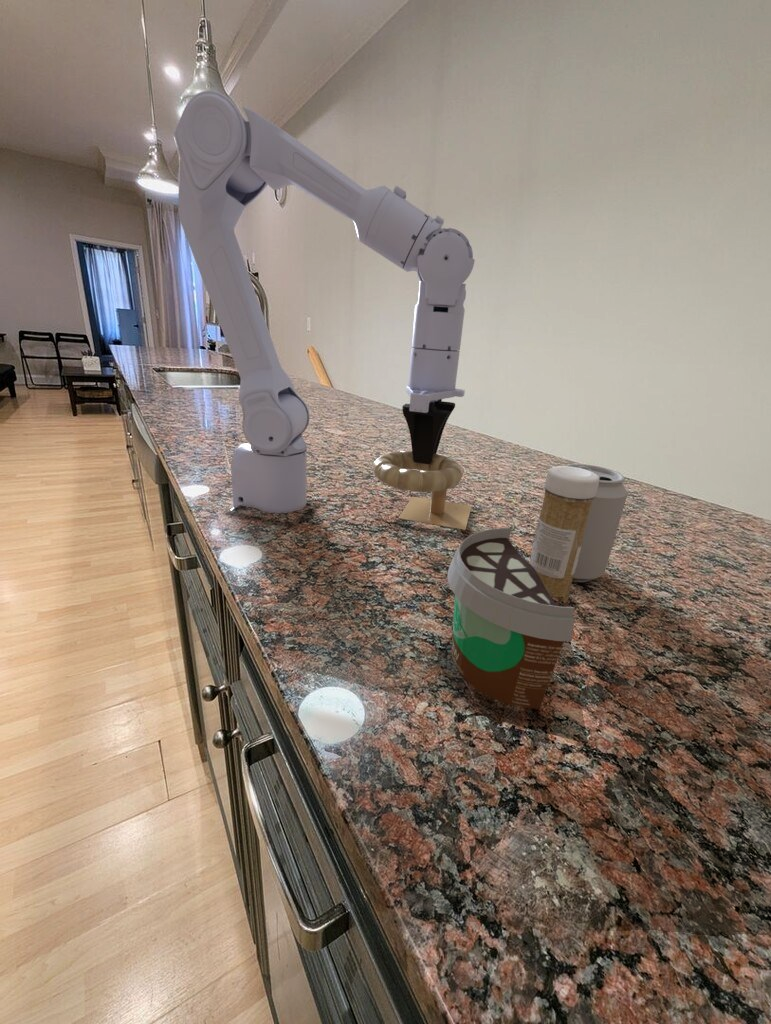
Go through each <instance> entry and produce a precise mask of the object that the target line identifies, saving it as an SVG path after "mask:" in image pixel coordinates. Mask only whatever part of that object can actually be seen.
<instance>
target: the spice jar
mask: <svg viewBox="0 0 771 1024" xmlns="http://www.w3.org/2000/svg"><path fill="white" fill-rule="evenodd" d="M598 485H599V476H598V475H597V474H595V473H593V472H591V471H588V470H585V469H581V468H576V467H569V466H565V465H556V466H553V467H552V466H551V467H550V468H549V469H548V470H547V472H546V478H545V482H544V496H543V501H542V505H541V510H540V514H539V517H538V521H537V525H536V531H535V535H534V539H533V544H532V549H531V554H530V557H529V558H530V559H529V563H530V564H531V565H532V566H533V567H534V569H535V570H536V572H537V574H538V575H539V577H540V579H541V581H542V583H543V584H544V586H545V588H546V590H547V591H548V593H549V594H550V596H551V597H552V598H561V597H562V601H563V604H564V605H565V604H566V603H567V602H568V600H569V599H570V590H571V586H572V584H573V583H572V582H573V581H572V578H573V575H574V573H575V570H576V566H577V562H578V559H579V554H580V550H581V543H582V539H583V535H584V531H585V527H586V524H587V520H588V516H589V511H590V506H591V502H592V501H593V499H594V497H595V496H596V493H597V489H598Z"/></svg>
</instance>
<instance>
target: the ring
mask: <svg viewBox="0 0 771 1024" xmlns="http://www.w3.org/2000/svg"><path fill="white" fill-rule="evenodd" d="M372 472H373V474H374V475H375V477H376V478H377V480H378V481H380V482H381V483H382V484H385V485H387V486H390V487H392V488H394V489H398V490H403V491H410V492H415V493H432V492H439V491H443V490H447V491H448V490H449V489H453V488H455V487H457V486H458V485H459V484H460V483H461V480H462V478H463V476H464V469H463V467H462V465H460V464H459V463H458V462H457V461H455V460H454V459H452V457H448V456H445V455H442V454H439V453H436V454H435V453H434V455H433V458H432V460H431V463H430V464H423V463H416V462H414V460H413V454H412V450H396V451H391V452H387V453H383V454H381V455H380V456H379V457H378V458H376V459H375V460H374V461H373V463H372Z"/></svg>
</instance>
